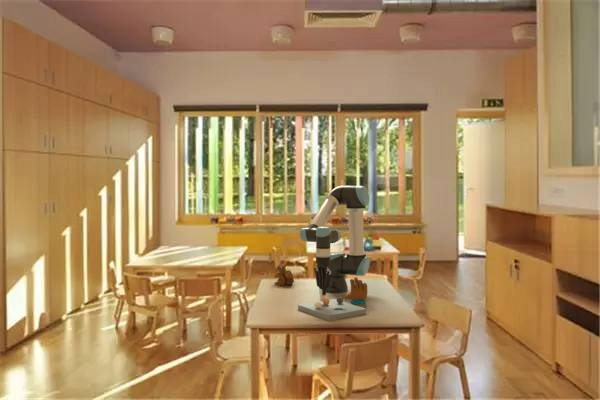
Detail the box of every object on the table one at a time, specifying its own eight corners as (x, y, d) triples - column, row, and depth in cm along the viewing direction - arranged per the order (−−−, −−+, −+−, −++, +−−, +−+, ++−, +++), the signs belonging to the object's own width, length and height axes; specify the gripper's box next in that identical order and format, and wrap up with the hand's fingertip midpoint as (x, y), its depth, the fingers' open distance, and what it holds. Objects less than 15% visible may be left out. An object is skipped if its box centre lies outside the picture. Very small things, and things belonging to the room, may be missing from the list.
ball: (321, 298, 261) (324, 298, 258) (326, 297, 263) (330, 297, 260) (321, 305, 261) (325, 305, 258) (327, 304, 263) (331, 304, 260)
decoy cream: (313, 308, 253) (313, 301, 253) (318, 307, 255) (318, 300, 255) (317, 309, 251) (317, 302, 250) (322, 308, 253) (322, 301, 252)
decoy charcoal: (335, 303, 264) (335, 296, 264) (340, 302, 266) (340, 295, 266) (339, 304, 261) (339, 297, 261) (344, 303, 263) (344, 297, 263)
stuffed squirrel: (280, 281, 334) (280, 262, 333) (298, 284, 326) (298, 264, 325) (271, 284, 325) (271, 264, 325) (289, 287, 318) (289, 266, 317)
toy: (343, 304, 273) (344, 276, 272) (347, 301, 280) (347, 274, 279) (365, 305, 269) (365, 278, 269) (368, 303, 276) (368, 276, 275)
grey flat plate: (298, 309, 261) (298, 304, 261) (333, 303, 274) (334, 298, 274) (328, 320, 239) (328, 315, 239) (366, 313, 253) (366, 308, 253)
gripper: (310, 255, 265) (309, 299, 266) (324, 258, 254) (324, 304, 255) (321, 254, 269) (321, 297, 270) (336, 257, 259) (335, 302, 259)
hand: (322, 300), depth 262 cm, fingers closed
